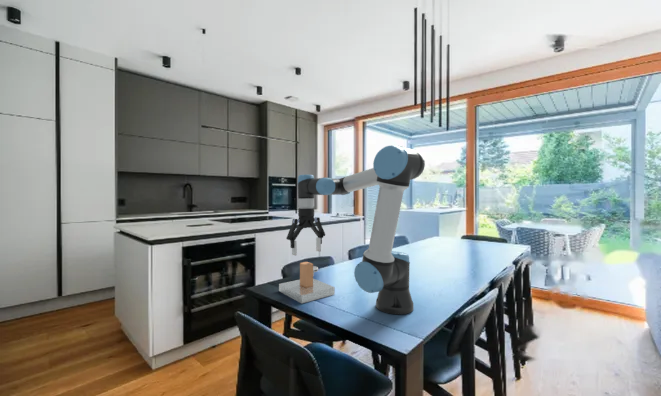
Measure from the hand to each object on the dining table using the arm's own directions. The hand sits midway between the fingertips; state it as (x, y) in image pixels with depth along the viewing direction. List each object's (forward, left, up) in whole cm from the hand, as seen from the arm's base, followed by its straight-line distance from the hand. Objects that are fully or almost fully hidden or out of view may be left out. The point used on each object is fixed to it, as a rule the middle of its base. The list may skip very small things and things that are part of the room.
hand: (306, 253), depth 140 cm
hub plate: (0, 0, -19) cm, 19 cm away
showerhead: (+17, -13, -19) cm, 29 cm away
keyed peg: (0, 0, -19) cm, 19 cm away
